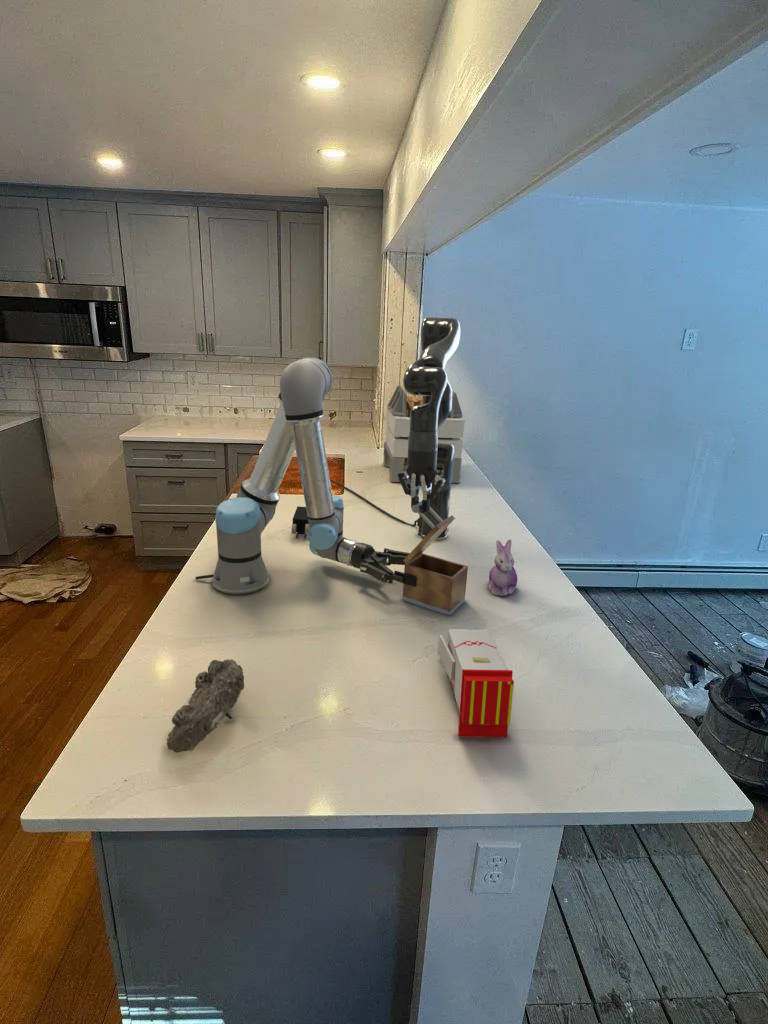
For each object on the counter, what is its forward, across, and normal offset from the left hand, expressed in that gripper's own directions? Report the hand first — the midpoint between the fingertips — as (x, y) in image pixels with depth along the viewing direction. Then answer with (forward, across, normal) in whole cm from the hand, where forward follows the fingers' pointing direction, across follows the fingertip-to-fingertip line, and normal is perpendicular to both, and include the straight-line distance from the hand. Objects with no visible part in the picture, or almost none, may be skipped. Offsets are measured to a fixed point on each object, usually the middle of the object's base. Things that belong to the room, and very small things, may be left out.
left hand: (424, 575), depth 154 cm
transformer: (-60, -110, -7) cm, 126 cm away
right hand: (-3, 0, +18) cm, 18 cm away
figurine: (+16, -17, -7) cm, 25 cm away
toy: (+27, +31, -7) cm, 42 cm away
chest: (+3, 0, -7) cm, 8 cm away
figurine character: (-56, -16, -7) cm, 59 cm away
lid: (+1, 0, +10) cm, 10 cm away
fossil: (-10, +66, -7) cm, 68 cm away
